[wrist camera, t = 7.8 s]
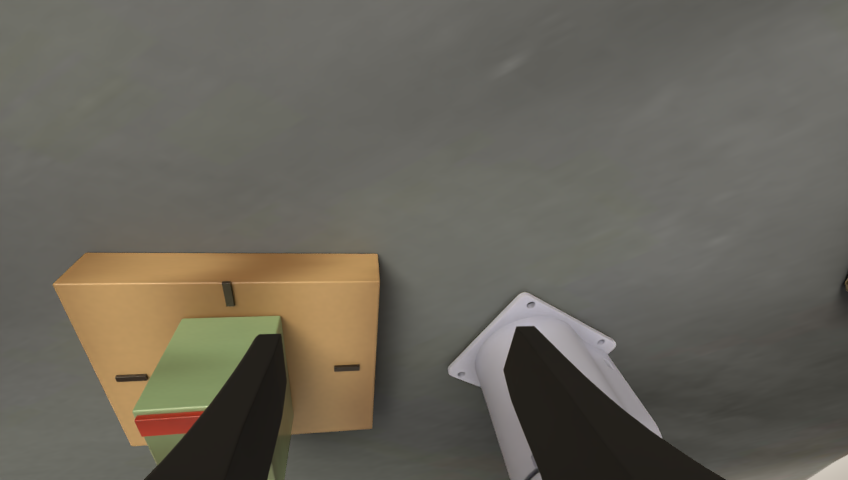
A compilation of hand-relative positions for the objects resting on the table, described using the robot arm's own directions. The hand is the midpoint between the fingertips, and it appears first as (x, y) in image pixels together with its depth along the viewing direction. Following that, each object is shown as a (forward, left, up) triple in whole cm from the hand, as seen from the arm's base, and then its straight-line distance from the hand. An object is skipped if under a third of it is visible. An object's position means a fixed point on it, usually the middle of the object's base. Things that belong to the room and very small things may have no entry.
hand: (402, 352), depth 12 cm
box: (+2, +11, -7) cm, 13 cm away
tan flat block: (+2, +11, -9) cm, 15 cm away
